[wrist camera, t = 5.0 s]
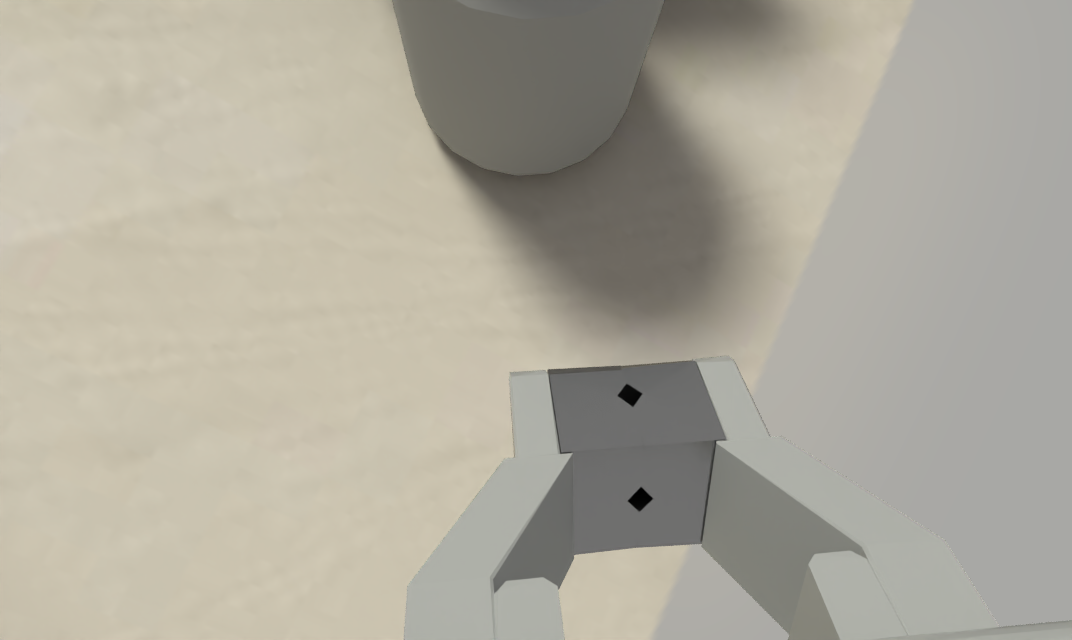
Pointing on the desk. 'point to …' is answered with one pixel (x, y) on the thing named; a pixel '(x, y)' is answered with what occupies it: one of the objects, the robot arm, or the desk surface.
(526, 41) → the can
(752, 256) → the desk surface
